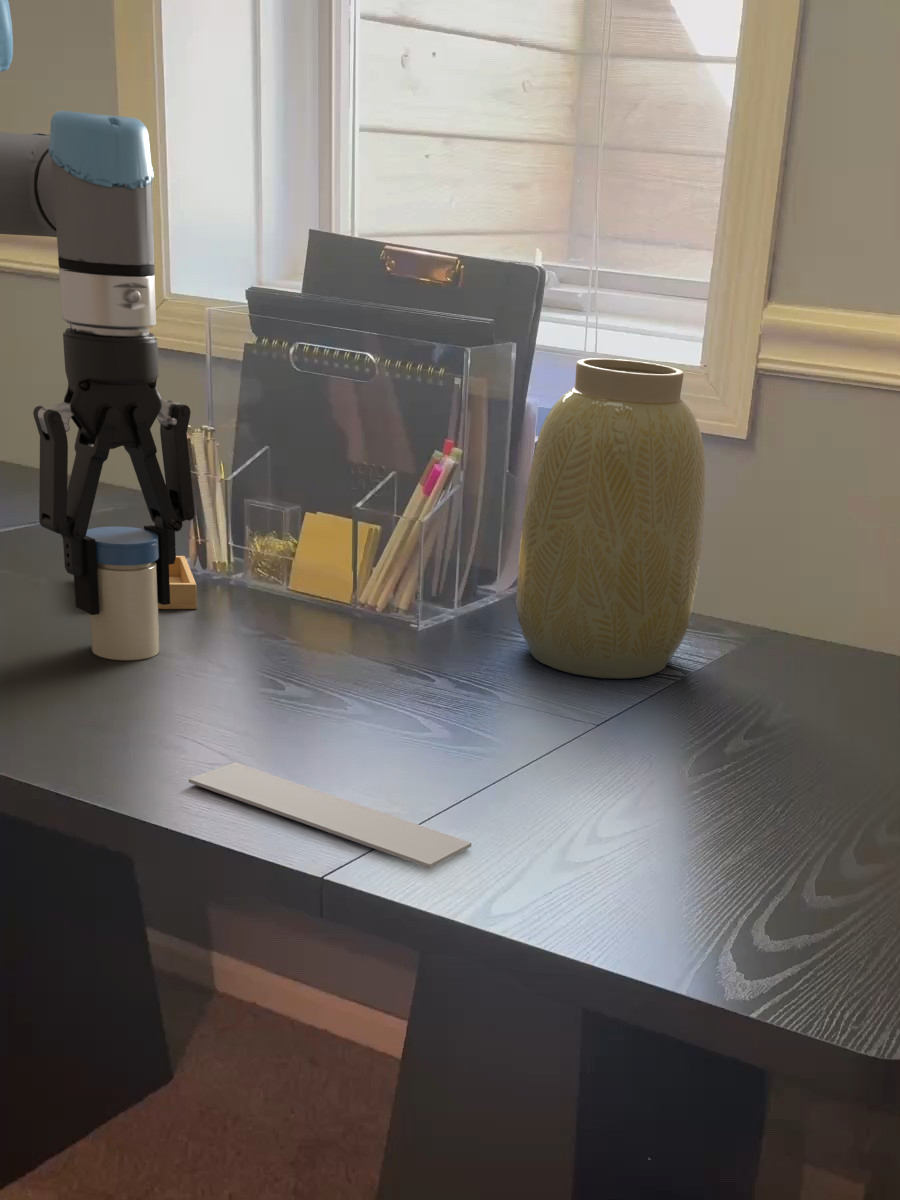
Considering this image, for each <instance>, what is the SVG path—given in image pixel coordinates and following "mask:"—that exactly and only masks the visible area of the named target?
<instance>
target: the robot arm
mask: <svg viewBox="0 0 900 1200" xmlns="http://www.w3.org/2000/svg"><path fill="white" fill-rule="evenodd" d="M13 57H14V34H13V22H12V16H11V9H10V3H9V0H0V73H1V72H6V71H8V70H9V68H10V65H11V64H12V62H13ZM49 131H50V132H49V134H47V133H46V134H45V133H40V132H37V133H31V134H30V133H21V132H9V131H0V235H11V236H28V237H29V236H30V237H46V238H47V237H48V238H56V243H57V244H56V245H57V255H58V257H57V258H58V259H57V261H58V262H57V263H58V273H59V294H60V295H59V297H60V312H61V319H62V320H63V321H64V322H65V323H67V324H69V327H67V328H66V329H65V330H64V331H63V332H62V342H63V343H62V344H63V357H64V371H65V375H66V378H67V390H66V393H65V395H64V398H63V402H60V403H57V404H54V405H51V406H49V407H45V406H42V405H37V406H35V408H33V412H32V415H33V419H34V422H35V424H36V428H37V432H38V435H39V490H38V491H39V495H38V496H39V498H38V499H39V500H38V503H39V504H38V505H39V507H38V509H39V510H38V513H39V514H38V515H39V516H38V517H39V518H38V520H39V521H38V522H39V525H40V526H41V527H42V528H44V529H47V530H49V531H51V532H53V533H55V534H59V535H61V538H62V547H63V555H64V556H63V558H64V559H63V561H64V562H63V563H64V568H65V571H66V573H68V574H69V575H72V576H73V584H74V599H75V608H76V609H78V610H80V611H82V612H84V613H86V614H88V615H89V614H90V615H97V614H99V598H98V580H97V563H96V545H95V539H93V538H91V537H88V536H86V533H87V530H88V529H89V523H90V520H91V516H92V511H93V507H94V503H95V499H96V494H97V491H98V490H97V489H98V486H99V482H100V477H101V473H102V469H103V465H104V463H105V462H106V461H107V460H108V459H109V454H110V450H115V449H118V448H120V447H123V448H124V450H125V451H126V452H127V454H128V455H129V458H130V461H131V464H132V466H133V469H134V470H133V471H134V472H135V475H136V477H137V481H138V484H139V486H140V490H141V493H142V495H143V498H144V502H145V505H146V507H147V511H148V513H149V516H150V519H151V521H152V523H153V524H154V525H153V524H148V525H143V529H145V530H149V531H152V532H154V533H156V534H157V535H158V543H159V558H158V560H156V561H155V562H156V564H157V591H158V603H160V604H162V605H166V604H170V582H169V565H170V564H174V563H175V559H176V556H177V553H176V551H177V550H176V549H177V548H176V533H177V532H179V531H181V530H182V528H183V522H185V521H192V520H193V519H194V518H195V516H196V512H195V501H194V491H193V490H194V489H193V482H192V471H191V461H190V452H189V443H188V441H189V440H188V429H189V424H190V419H191V413H192V412H191V409H190V408H191V407H189V406H188V405H186V404H183V403H180V402H178V401H177V402H176V401H173V400H164V399H163V400H162V396H161V395H160V393H159V391H158V386H157V380H158V378H159V375H160V373H159V347H158V338H157V337H156V335H155V334H154V333H152V332H150V330H151V329H153V328H154V327H155V326H156V325H157V307H156V305H157V304H156V303H157V302H156V279H155V274H156V272H155V270H156V269H155V233H154V230H155V229H154V199H153V195H154V194H153V192H154V191H153V180H154V178H155V175H154V174H155V173H154V172H155V169H154V167H153V164H152V156H151V154H152V153H151V145H150V134H149V130H148V128H147V126H146V125H145V124H144V123H143V122H142V121H141V120H140V119H138V118H137V117H129V116H119V115H108V114H99V113H91V112H81V111H70V110H58V111H55V113H54V114H53V115H52V117H51V119H50V130H49ZM70 420H72V422H73V423H74V424H75V426H76V427H77V428H78V430H77V434H76V438H75V443H74V451H75V456H74V461H73V464H72V469H71V472H70V477H69V482H68V475H69V474H68V468H69V466H68V465H69V464H68V462H69V441H68V435H67V432H69V431H70V430H71V425H70ZM156 420H157V421H158V423H159V424H160V426H159V434H160V436H159V437H160V444H161V446H160V447H161V453H162V462H163V471H164V476H163V472H162V470H161V466H160V464H159V460H158V457H157V452H158V449H157V446H156V443H155V440H154V437H153V433H152V430H151V428H152V426H153V425H154V423H155V421H156Z"/></svg>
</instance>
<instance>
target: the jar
mask: <svg viewBox="0 0 900 1200" xmlns="http://www.w3.org/2000/svg"><path fill="white" fill-rule="evenodd" d="M97 580H98V598H99V614H97V615H90V614H88V615H89V630H90V631H89V632H90V647H91V652H92V654H93V655H95V656H97V657H100V658H103V659H106V660H107V659H108V660H113V661H140V660H147V659H150V658H153V657H155V656H157V655H158V654H160V650H161V649H160V648H161V647H160V623H159V622H160V621H159V609H158V591H157V564H156V562H155V561H154V562H151V563H148V564H142V565H127V566H124V565H108V564H101V563H97Z"/></svg>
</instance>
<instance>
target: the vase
mask: <svg viewBox="0 0 900 1200" xmlns="http://www.w3.org/2000/svg"><path fill="white" fill-rule="evenodd" d="M683 379H684V371H682V370H680V369H678V368H676V367H672V366H668V365H663V364H658V363H653V362H645V361H639V360H630V359H618V358H617V359H616V358H584V359H583V358H582V359H579V360H577V361H576V365H575V382H574V387H572V388H571V389H569V390H567V392H566V393H563V395H562V396H561V397H560V398H559V399H558V400H556V402H555V403H554V405H553V406H552V407H551V409H550V410H549V412H548V414H547V415H546V417H545V419H544V421H543V423H542V426H541V428H540V431H539V434H538V437H537V441H536V445H535V449H534V452H533V457H532V462H531V465H530V470H529V476H528V481H527V486H526V493H525V498H524V507H523V514H522V520H521V529H520V539H519V549H518V560H517V574H516V575H517V576H516V596H515V597H516V598H515V600H516V601H515V605H516V607H515V608H516V617H517V621H518V624H519V628H520V631H521V634H522V636H523V639H524V641H525V643H526V646H527V648H528V651H529V653H530V655H532V657H533V658H534V659H535V660H537V661H538V662H539V663H541V664H543V665H545V666H547V667H549V668H552V669H554V670H557V671H561V672H565V673H568V674H572V675H578V676H583V677H589V678H597V679H610V680H612V679H613V680H622V679H623V680H627V679H638V678H644V677H648V676H653V675H656V674H657V673H659V672H661V671H663V670H664V669H665V668H666V667H667V665H668V664H669V662H670V661H671V659H672V658H673V656H675V654H676V652H677V651H678V650H679V648H680V646H681V644H682V642H683V641H684V638H685V637H686V634H687V631H688V629H689V625H690V621H691V616H692V611H693V608H694V607H693V606H694V601H695V595H696V588H697V582H698V578H699V577H698V576H699V568H700V560H701V551H702V544H703V543H702V541H703V531H704V521H705V520H704V518H705V517H704V516H705V505H706V504H705V502H706V456H705V444H704V439H703V436H702V433H701V429H700V426H699V424H698V422H697V420H696V417H695V415H694V413H693V412H692V410H691V409H690V407H689V406H688V405H687V403H685V401H684V400H682V398H681V393H682V387H683V381H684V380H683Z"/></svg>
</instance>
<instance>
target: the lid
mask: <svg viewBox="0 0 900 1200" xmlns="http://www.w3.org/2000/svg"><path fill="white" fill-rule="evenodd" d="M86 536H88V537H91V538H93V539H95V545H96V563H101V564H108V565H124V566H127V565H142V564H148V563H151V562H154V561H156V560H158V558H159V543H158V535H157V534H156V533H154V532H152V531H149V530H145V529H144V528H139V527H132V526H119V525H118V526H115V525H114V526H100V527H99V526H98V527H93V528H88V529H87V533H86Z"/></svg>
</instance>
